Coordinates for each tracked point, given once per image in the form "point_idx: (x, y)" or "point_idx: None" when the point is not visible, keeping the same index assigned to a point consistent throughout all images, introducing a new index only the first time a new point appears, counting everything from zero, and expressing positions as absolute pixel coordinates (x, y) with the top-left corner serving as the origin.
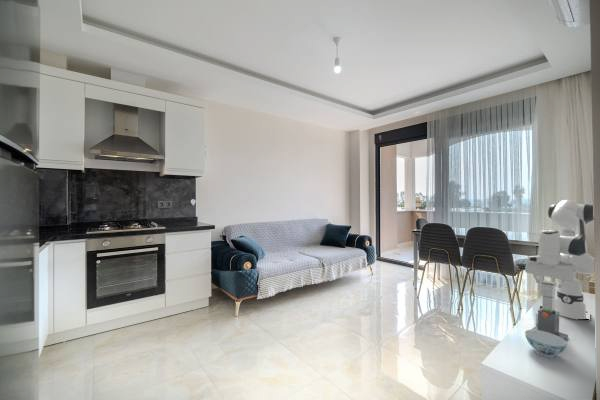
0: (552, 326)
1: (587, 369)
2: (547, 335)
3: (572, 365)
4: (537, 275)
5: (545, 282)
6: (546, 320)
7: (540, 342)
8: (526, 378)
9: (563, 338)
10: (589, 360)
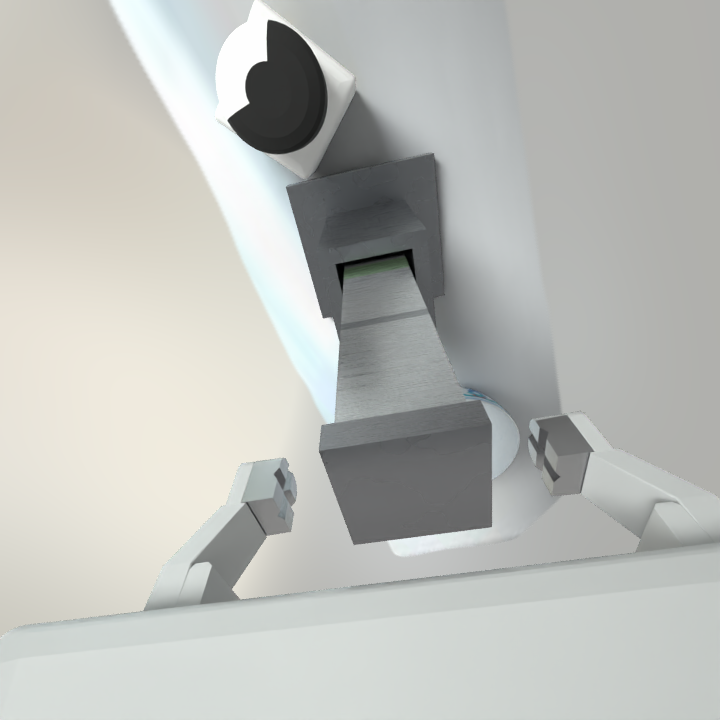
0: None
1: (551, 391)
2: None
3: (516, 406)
4: (214, 581)
5: (395, 537)
6: None
7: None
8: (467, 535)
9: (438, 240)
10: (547, 323)
